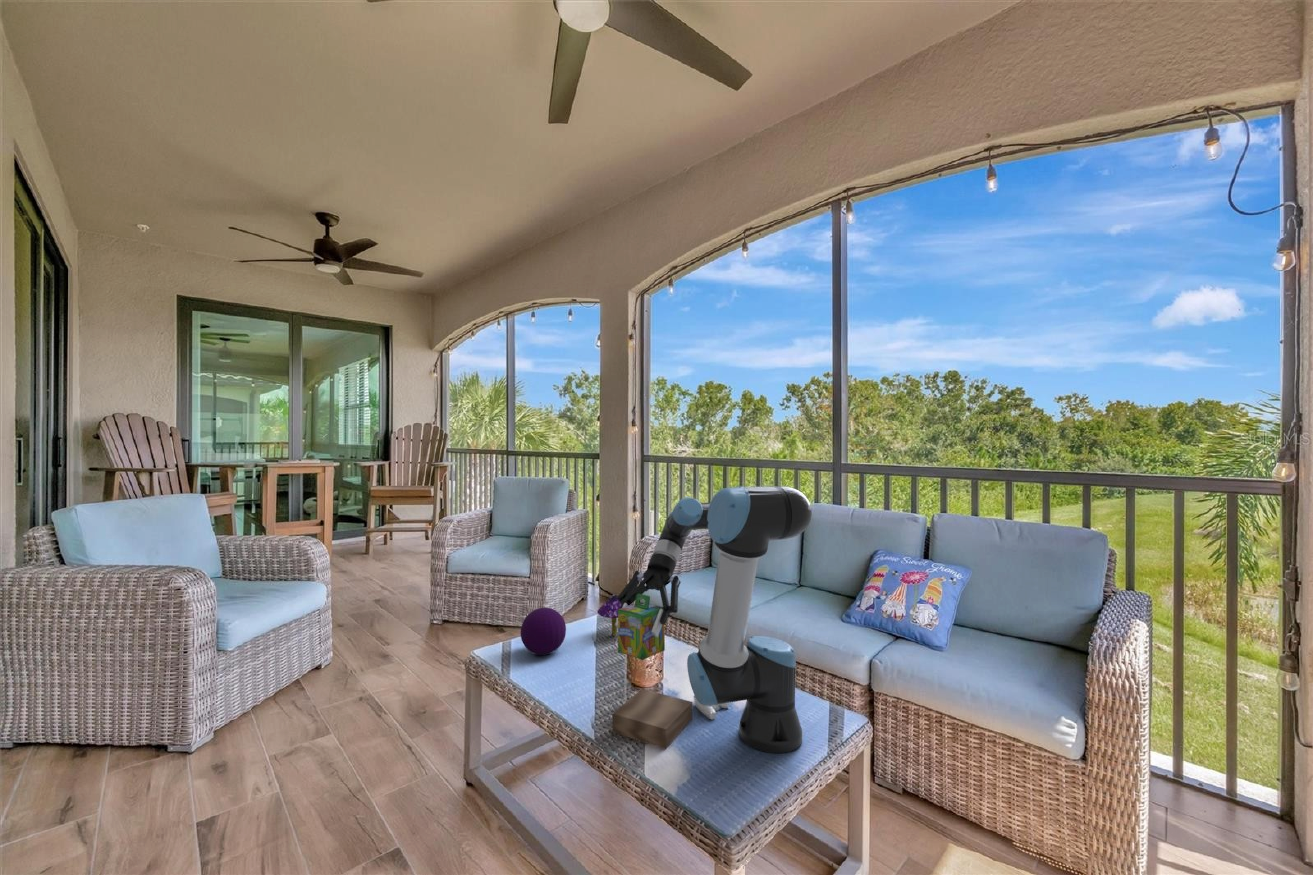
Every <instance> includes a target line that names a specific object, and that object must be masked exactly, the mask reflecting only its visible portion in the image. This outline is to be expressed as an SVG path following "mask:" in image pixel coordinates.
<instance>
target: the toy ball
mask: <svg viewBox="0 0 1313 875" xmlns="http://www.w3.org/2000/svg"><path fill="white" fill-rule="evenodd" d="M566 633H567V625H566V621H565V619H564V617H563V616H562V615H561V613H560V612H558V611H557V610H555V609H554V608H550V607H538V608H536V609H534V610H532V611H530V613H529V614H527V615H526V616H525V617H524V620H523V621H522V624H521V628H520V639H521V642H522V644H523V645H524V647H525V649H526V650H528V651H529V652H531V653H532V654H534V655H540V656H546V655H549V654H551V653H553V652H555V651H557V650H558V649H559V648H560V647H561V646H562V644H563V643H564V640H565V638H566Z"/></svg>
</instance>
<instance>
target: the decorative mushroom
mask: <svg viewBox="0 0 1313 875" xmlns="http://www.w3.org/2000/svg"><path fill="white" fill-rule="evenodd" d="M618 596H619V595H617V594H612V595H611V596H610V598H608V599H607V600H606V601H604V602H603V604H602V605H601V606H600V607H599V608H598V610H597V614H598V616H600V617H603V618H609V619H611V635H612V636H613V637H614V636H616V635H617V634H618V628H617V627H616V625H615V624H616V621H617V619H618V609H620V606H621V603H620V602H619V601H618V599H617V597H618Z"/></svg>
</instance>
